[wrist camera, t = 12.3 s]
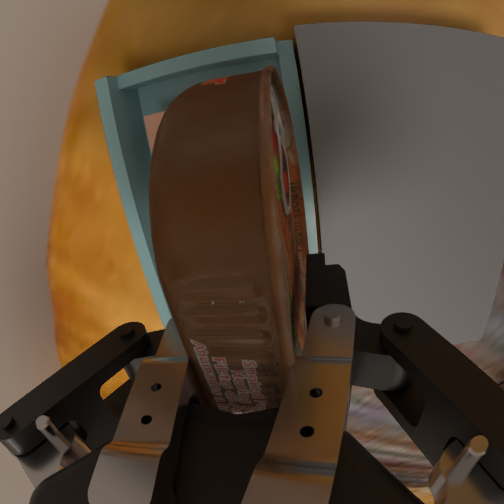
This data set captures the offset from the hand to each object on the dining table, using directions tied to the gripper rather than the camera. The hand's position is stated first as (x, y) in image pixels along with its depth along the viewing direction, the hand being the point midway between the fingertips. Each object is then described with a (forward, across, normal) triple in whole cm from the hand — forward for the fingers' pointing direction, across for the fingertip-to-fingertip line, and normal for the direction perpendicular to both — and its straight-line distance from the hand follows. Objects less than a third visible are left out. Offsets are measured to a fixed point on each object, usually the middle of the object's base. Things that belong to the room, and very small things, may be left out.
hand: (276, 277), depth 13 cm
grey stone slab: (+8, -8, 0) cm, 11 cm away
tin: (+2, 0, 0) cm, 2 cm away
